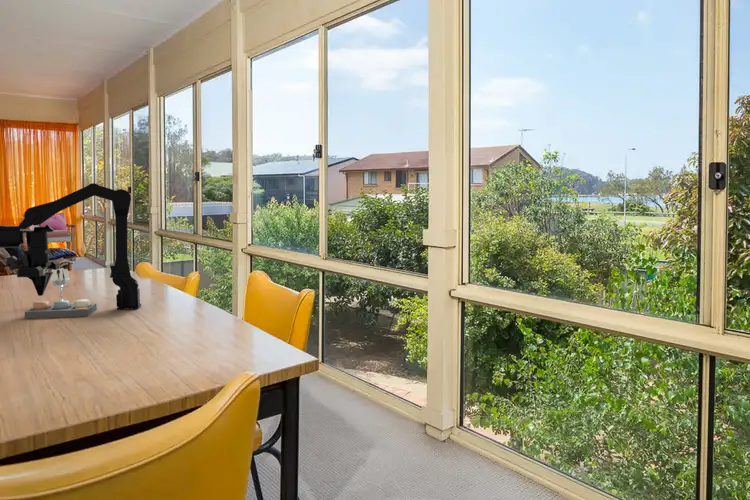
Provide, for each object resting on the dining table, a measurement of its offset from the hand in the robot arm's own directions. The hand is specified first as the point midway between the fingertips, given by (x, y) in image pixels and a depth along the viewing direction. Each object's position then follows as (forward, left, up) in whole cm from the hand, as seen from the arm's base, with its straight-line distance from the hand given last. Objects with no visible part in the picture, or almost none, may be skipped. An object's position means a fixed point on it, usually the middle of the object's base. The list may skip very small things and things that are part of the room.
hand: (40, 295), depth 179 cm
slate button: (-6, 0, -5) cm, 8 cm away
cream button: (-12, 0, -5) cm, 13 cm away
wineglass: (0, -19, -6) cm, 20 cm away
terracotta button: (0, 0, -5) cm, 5 cm away
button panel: (-6, 0, -6) cm, 8 cm away
